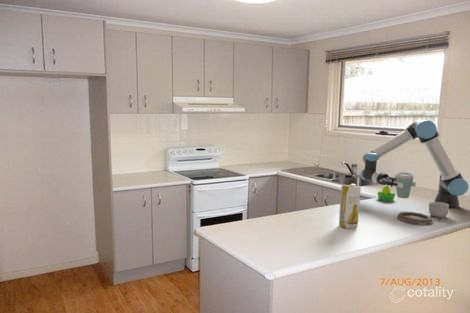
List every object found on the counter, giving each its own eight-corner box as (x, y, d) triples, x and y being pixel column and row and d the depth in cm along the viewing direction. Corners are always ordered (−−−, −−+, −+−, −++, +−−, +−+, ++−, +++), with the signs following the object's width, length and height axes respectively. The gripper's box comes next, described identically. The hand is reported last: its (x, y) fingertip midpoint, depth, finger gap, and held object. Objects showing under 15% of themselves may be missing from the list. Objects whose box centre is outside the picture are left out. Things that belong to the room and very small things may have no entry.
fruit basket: (395, 200, 268) (396, 185, 266) (393, 203, 260) (394, 187, 259) (378, 198, 274) (379, 182, 272) (376, 200, 266) (377, 184, 265)
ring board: (411, 214, 233) (411, 210, 233) (439, 222, 216) (440, 218, 216) (389, 217, 225) (390, 213, 224) (417, 226, 208) (418, 222, 208)
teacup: (450, 219, 224) (451, 206, 222) (430, 218, 226) (432, 205, 225) (442, 213, 237) (443, 201, 236) (423, 212, 239) (425, 199, 238)
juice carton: (346, 229, 198) (350, 185, 195) (336, 225, 205) (339, 182, 202) (359, 227, 202) (363, 184, 199) (349, 223, 209) (352, 181, 206)
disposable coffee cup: (410, 200, 225) (412, 175, 223) (391, 197, 231) (393, 173, 229) (412, 197, 234) (415, 173, 232) (394, 194, 240) (396, 171, 238)
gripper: (392, 182, 253) (421, 189, 233) (367, 185, 243) (394, 192, 223) (393, 172, 252) (422, 178, 232) (368, 173, 242) (396, 180, 222)
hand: (409, 185), depth 228 cm, fingers closed on disposable coffee cup, 11 cm apart
